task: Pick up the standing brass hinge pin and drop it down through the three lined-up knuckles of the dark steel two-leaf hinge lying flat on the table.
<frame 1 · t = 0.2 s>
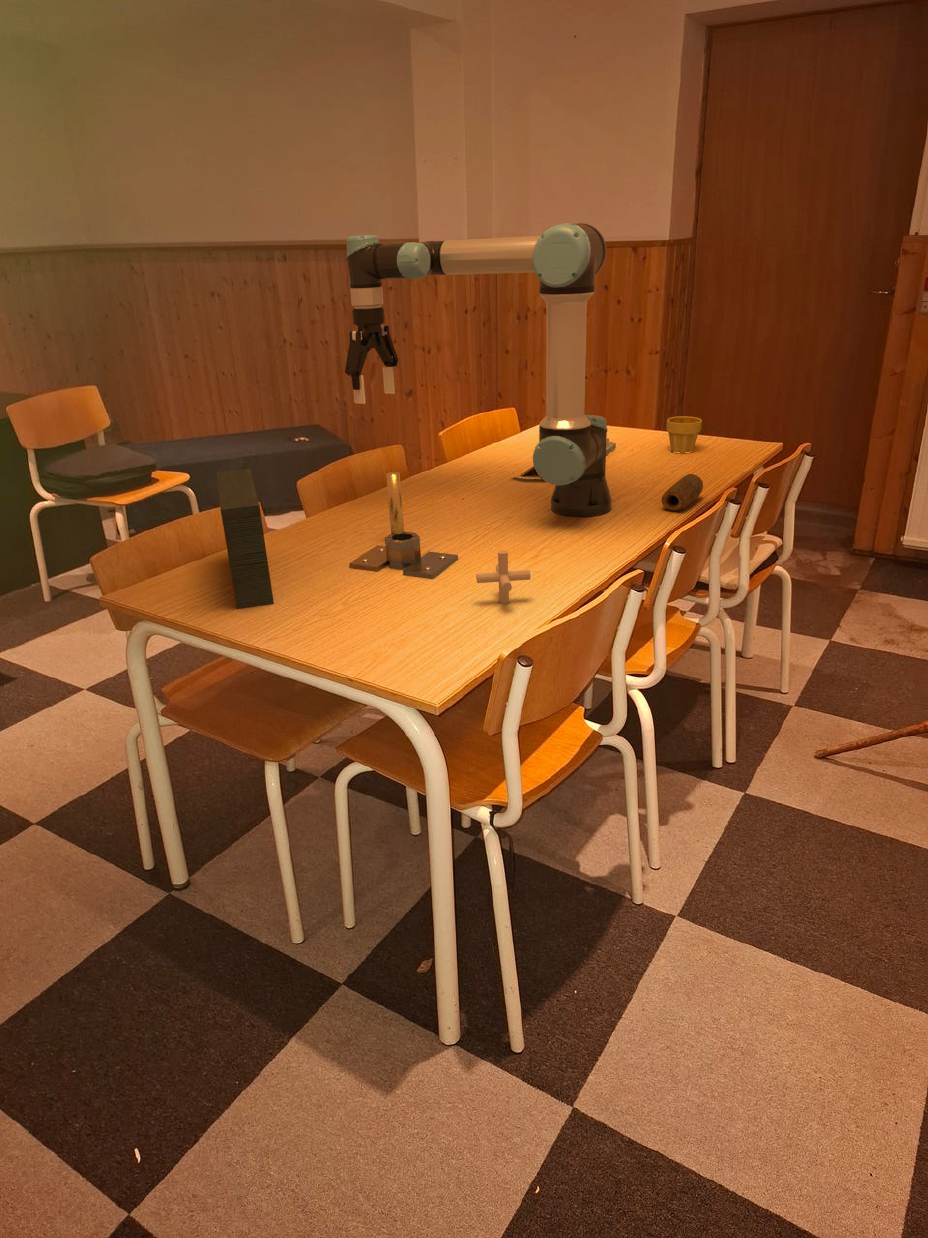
hand: (375, 398, 208), 28 cm above the table, tool pointing down, fingers open, 13 cm apart
plant pot: (682, 451, 260), on the table
hinge: (404, 563, 181), on the table
stone weight: (681, 506, 210), on the table
dark layered block: (251, 581, 175), on the table
hinge pin: (398, 541, 194), on the table
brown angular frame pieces: (564, 465, 252), on the table
pipe connector: (504, 602, 160), on the table
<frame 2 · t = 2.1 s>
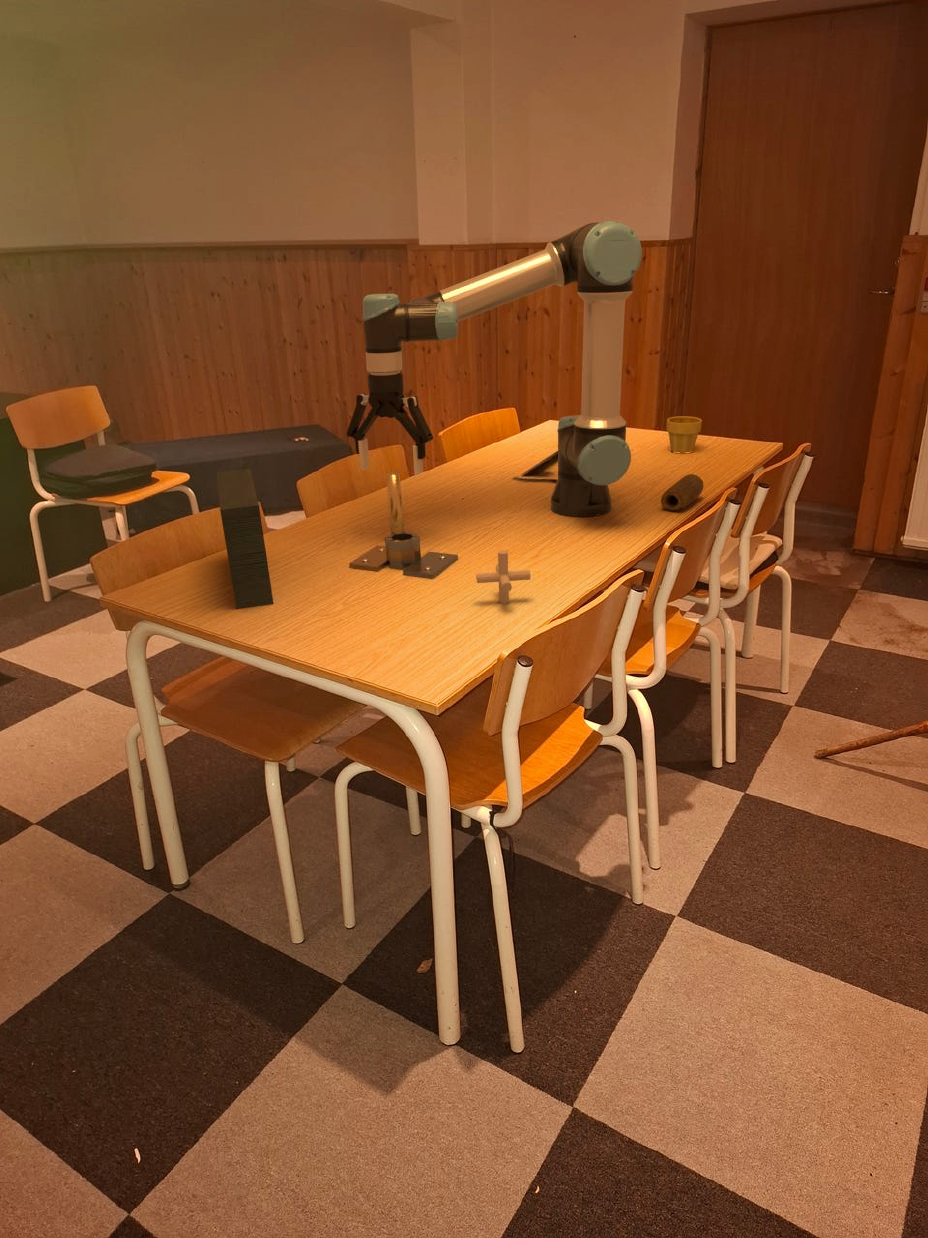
hand: (391, 471, 187), 17 cm above the table, tool pointing down, fingers open, 13 cm apart
nothing on the table moved.
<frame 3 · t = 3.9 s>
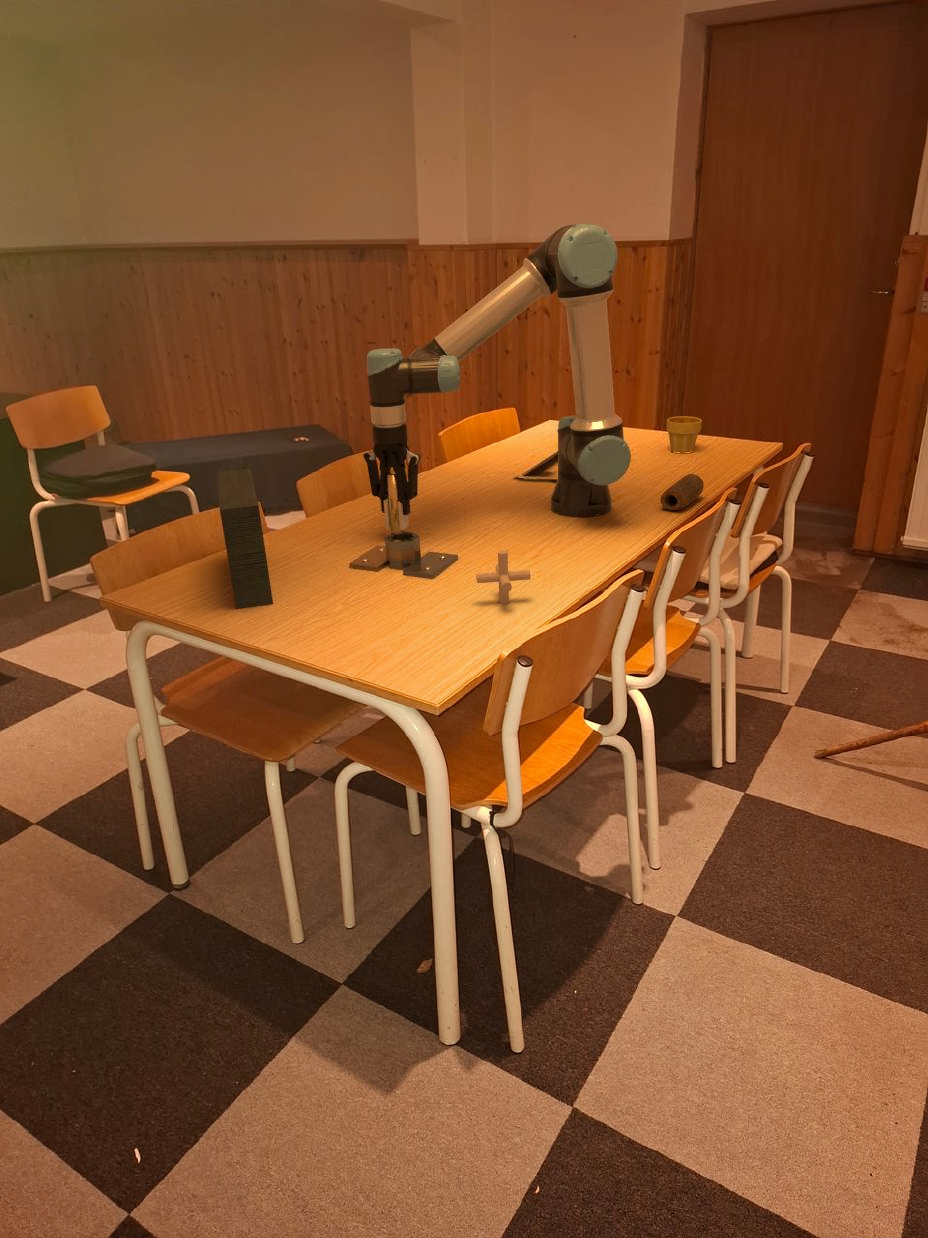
hand: (397, 527, 192), 4 cm above the table, tool pointing down, fingers closed on hinge pin, 3 cm apart
hinge pin: (398, 541, 194), on the table, touching gripper
everything else where it was.
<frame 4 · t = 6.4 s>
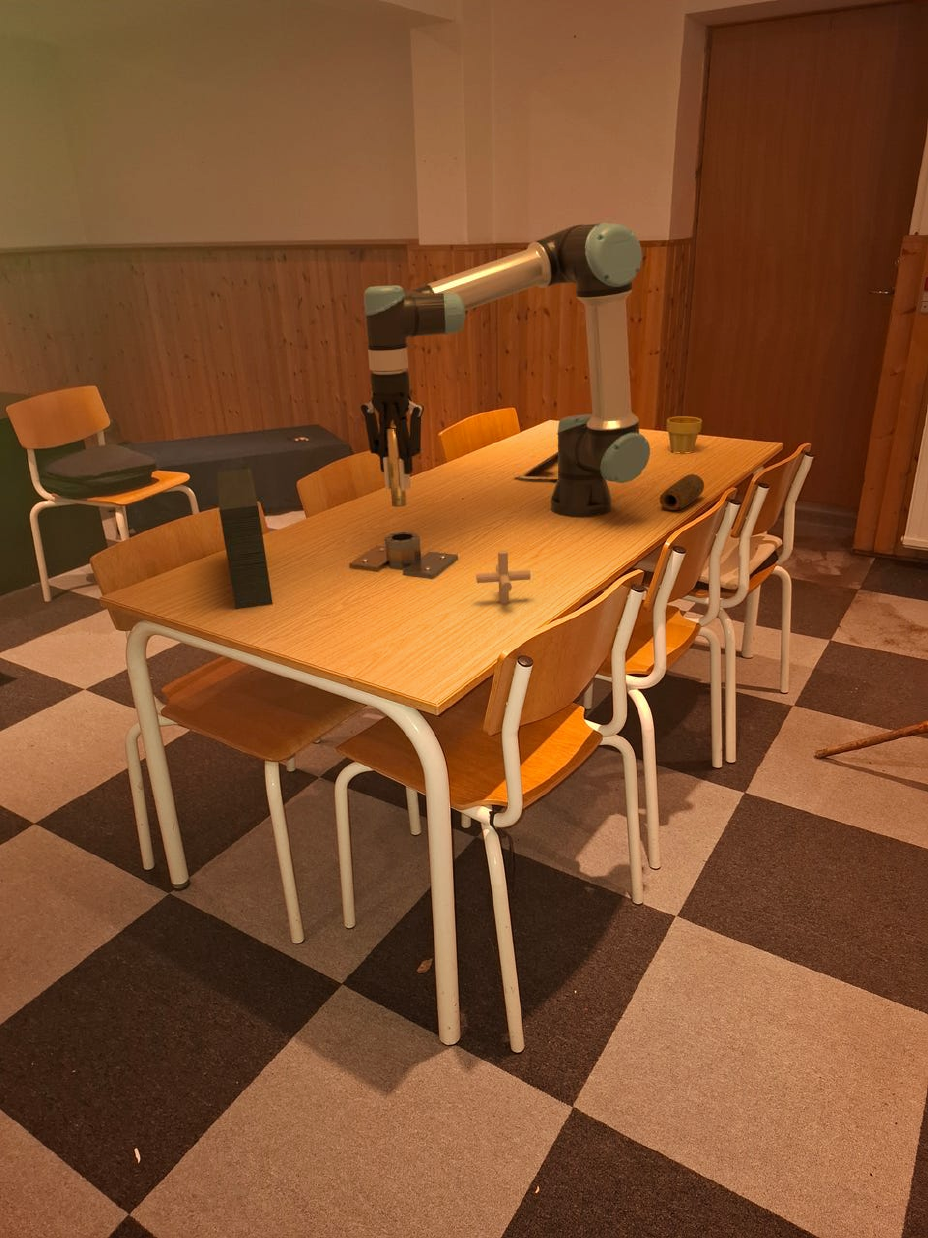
hand: (397, 488, 174), 17 cm above the table, tool pointing down, fingers closed on hinge pin, 3 cm apart
hinge pin: (399, 504, 175), point 13 cm above the table, touching gripper
everything else where it was.
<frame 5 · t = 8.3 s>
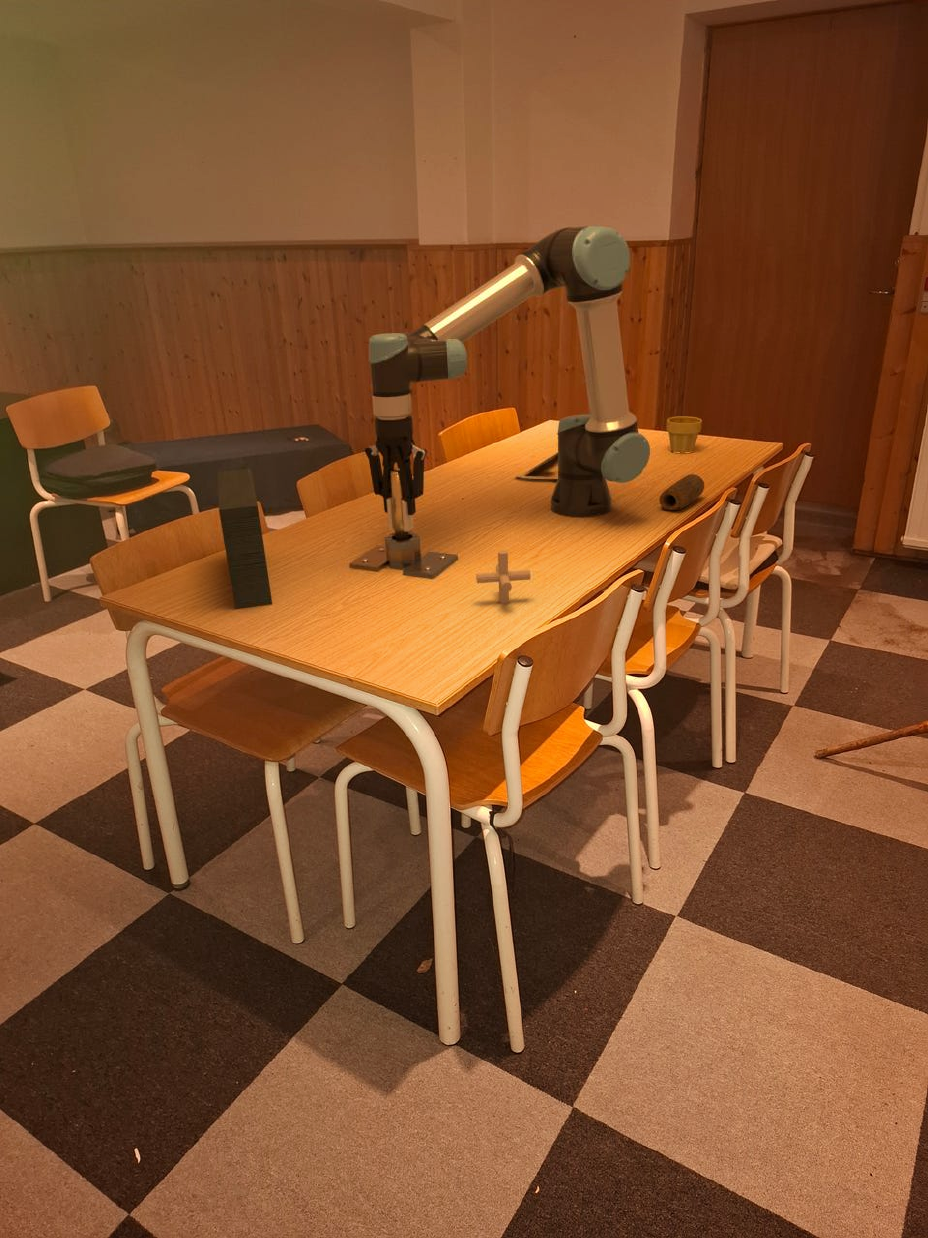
hand: (401, 528, 177), 8 cm above the table, tool pointing down, fingers closed on hinge pin, 3 cm apart
hinge pin: (402, 544, 179), point 4 cm above the table, touching gripper
when the fingers open (8 cm above the table, at t = 9.3 s): hinge pin drops 3 cm, resting in hinge.
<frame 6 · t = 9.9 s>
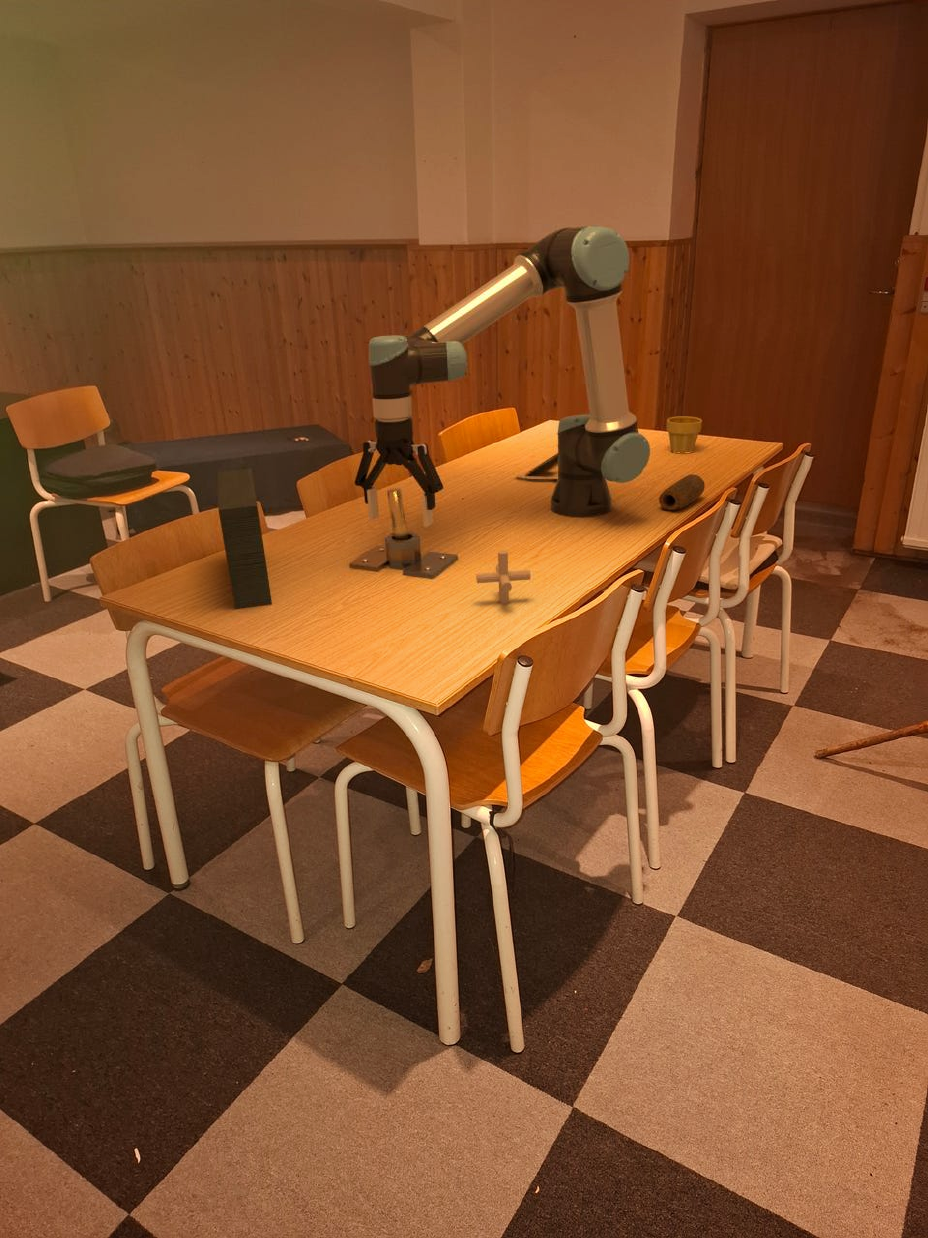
hand: (400, 521, 177), 9 cm above the table, tool pointing down, fingers open, 12 cm apart
hinge pin: (404, 563, 180), resting in hinge
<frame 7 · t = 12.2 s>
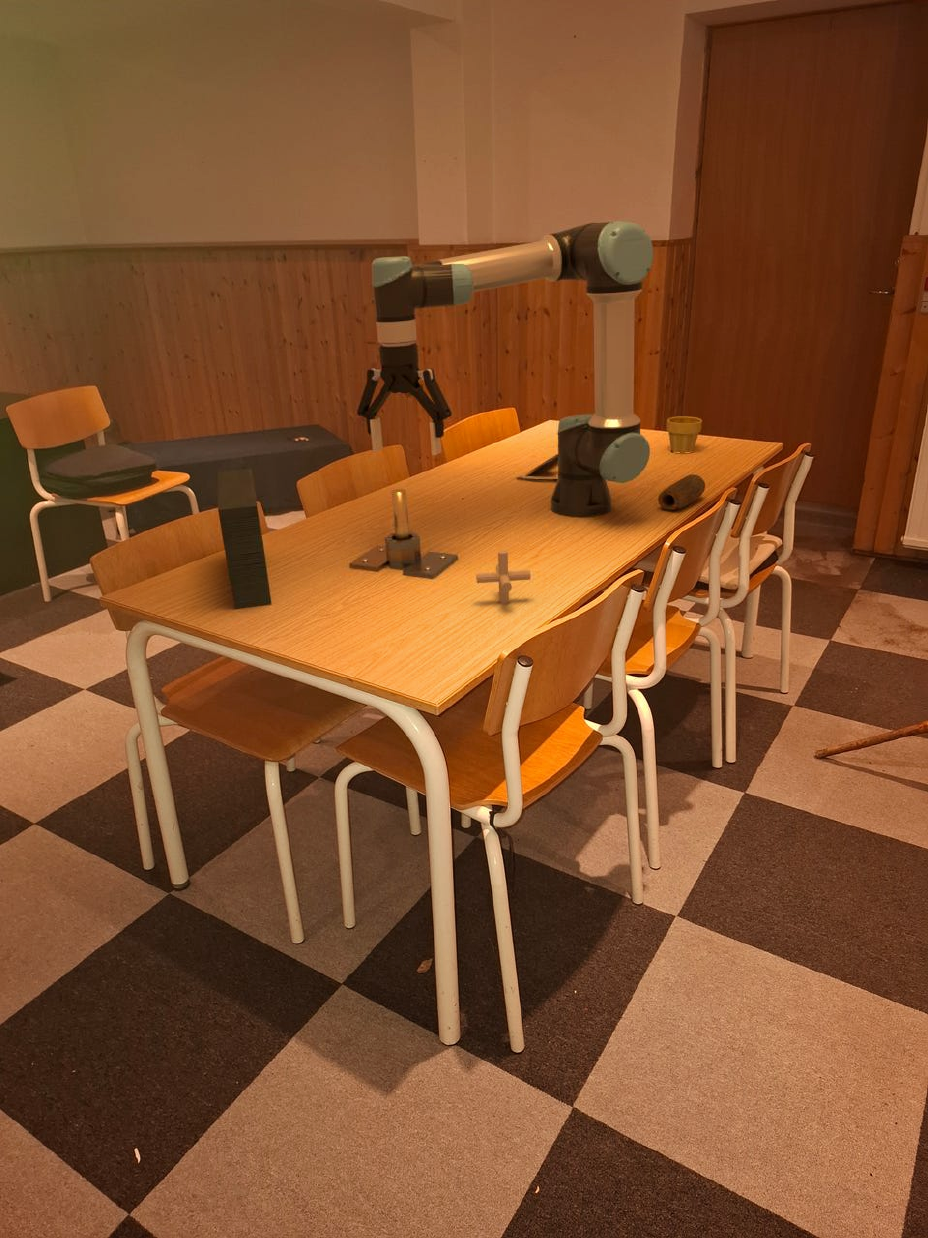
hand: (406, 451, 172), 24 cm above the table, tool pointing down, fingers open, 13 cm apart
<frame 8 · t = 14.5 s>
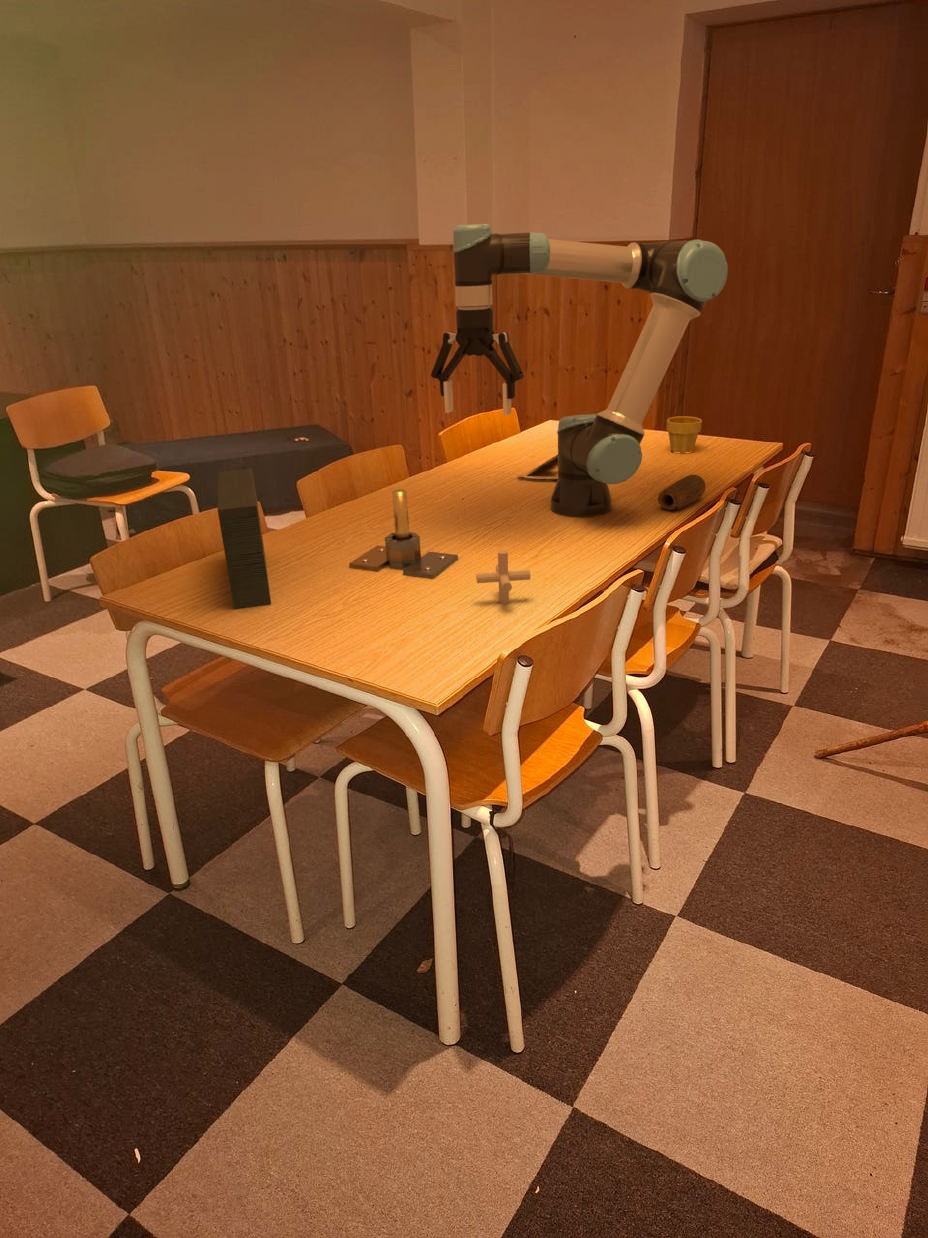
hand: (477, 413, 180), 29 cm above the table, tool pointing down, fingers open, 13 cm apart
at the end: hinge pin 0.1 cm off-centre on the hinge, point 0.0 cm above the hinge's base; hinge pin tilted 0°; the gripper is holding nothing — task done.
